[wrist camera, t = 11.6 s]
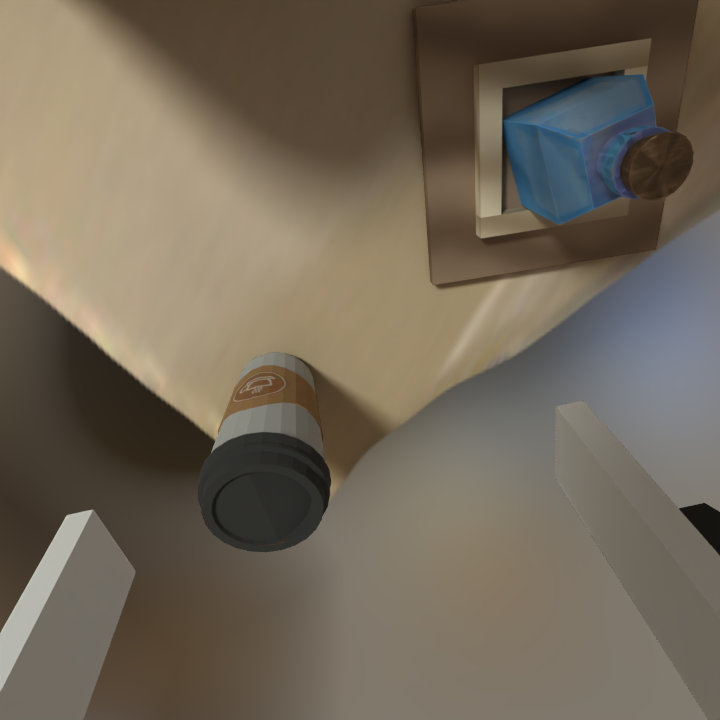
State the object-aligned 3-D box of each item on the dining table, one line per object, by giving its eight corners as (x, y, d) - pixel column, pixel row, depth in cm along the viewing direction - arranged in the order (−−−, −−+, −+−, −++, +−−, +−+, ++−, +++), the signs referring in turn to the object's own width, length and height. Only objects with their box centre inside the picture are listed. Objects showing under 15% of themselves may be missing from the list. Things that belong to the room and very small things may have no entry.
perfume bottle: (521, 205, 36) (609, 250, 25) (499, 120, 33) (587, 132, 22) (602, 167, 35) (727, 199, 25) (587, 77, 32) (721, 69, 22)
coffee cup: (310, 328, 40) (312, 441, 27) (335, 408, 44) (346, 540, 31) (213, 352, 40) (168, 475, 27) (247, 429, 44) (221, 570, 31)
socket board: (412, 9, 30) (419, 4, 28) (693, -33, 31) (718, -41, 29) (430, 280, 39) (436, 290, 37) (648, 246, 39) (665, 253, 38)
